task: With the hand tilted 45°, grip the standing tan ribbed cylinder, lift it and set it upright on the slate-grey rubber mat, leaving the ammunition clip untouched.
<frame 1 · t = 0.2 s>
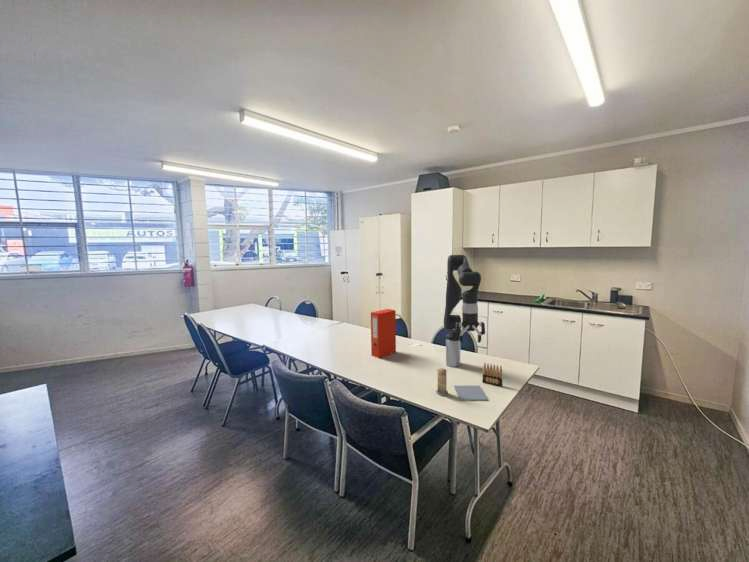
hand: (470, 342, 162), 29 cm above the table, tool pointing down, fingers open, 8 cm apart
file binder: (384, 354, 233), on the table
tan ribbed cylinder: (441, 393, 170), on the table
slate mat: (470, 393, 169), on the table
ammunition clip: (492, 384, 180), on the table
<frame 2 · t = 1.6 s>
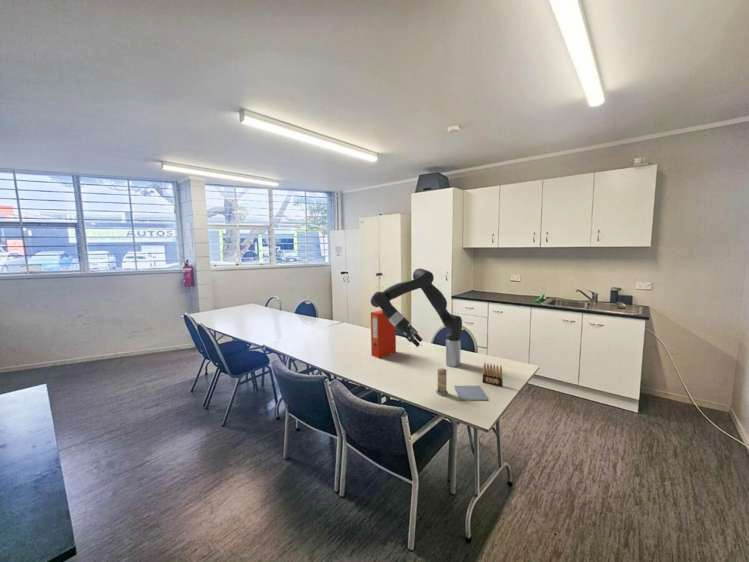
hand: (420, 343, 170), 27 cm above the table, tool tilted 45°, fingers open, 8 cm apart
nothing on the table moved.
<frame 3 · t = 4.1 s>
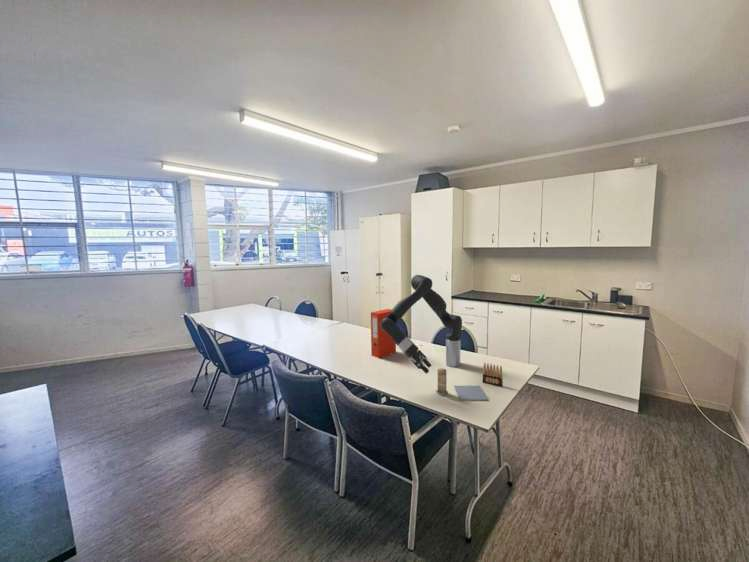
hand: (429, 369, 171), 13 cm above the table, tool tilted 45°, fingers open, 8 cm apart
nothing on the table moved.
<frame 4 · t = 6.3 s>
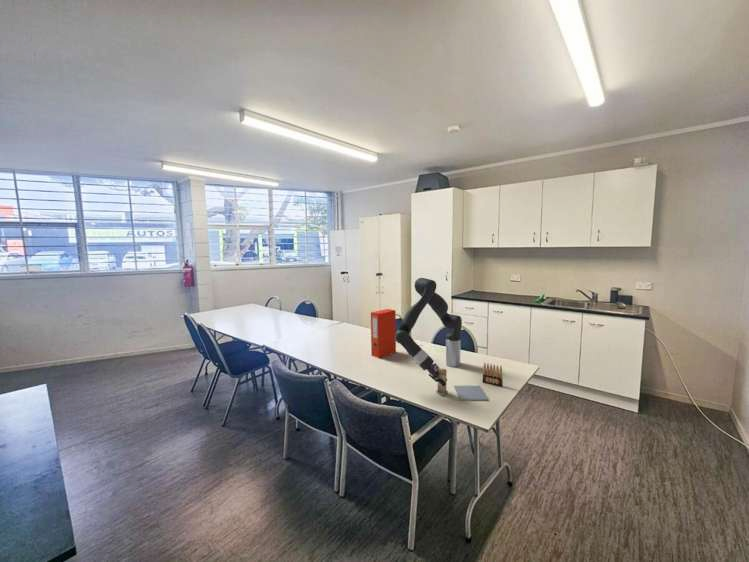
hand: (445, 383, 169), 6 cm above the table, tool tilted 45°, fingers closed on tan ribbed cylinder, 4 cm apart
tan ribbed cylinder: (441, 393, 170), on the table, touching gripper
everything else where it was.
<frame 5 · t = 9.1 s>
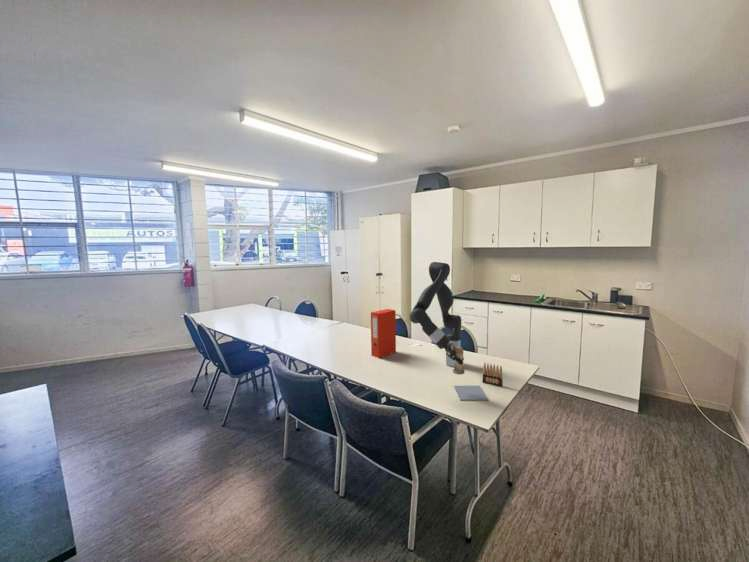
hand: (462, 361, 167), 17 cm above the table, tool tilted 45°, fingers closed on tan ribbed cylinder, 4 cm apart
tan ribbed cylinder: (458, 372, 169), point 12 cm above the table, touching gripper
everything else where it was.
when the fingers open (7 cm above the table, at t = 11.9 s): tan ribbed cylinder stays where it is, resting on slate mat.
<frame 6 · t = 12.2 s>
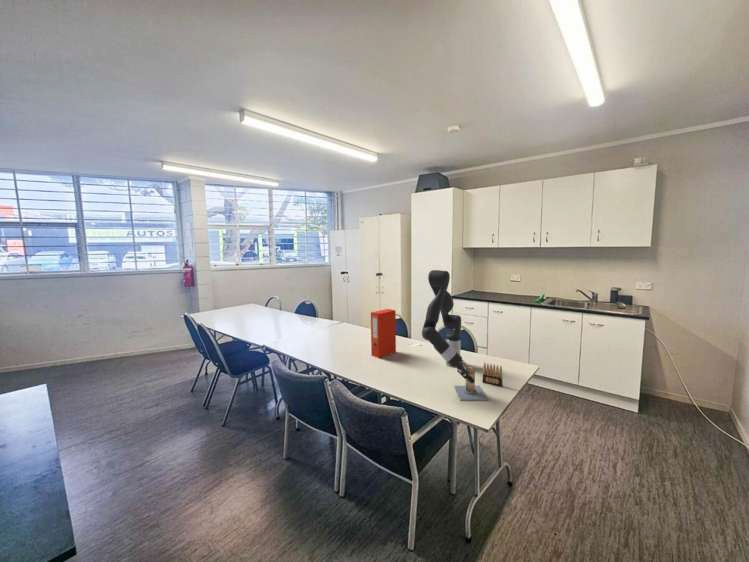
hand: (473, 379, 168), 8 cm above the table, tool tilted 45°, fingers open, 7 cm apart
tan ribbed cylinder: (470, 392, 169), point 1 cm above the table, touching slate mat
everything else where it was.
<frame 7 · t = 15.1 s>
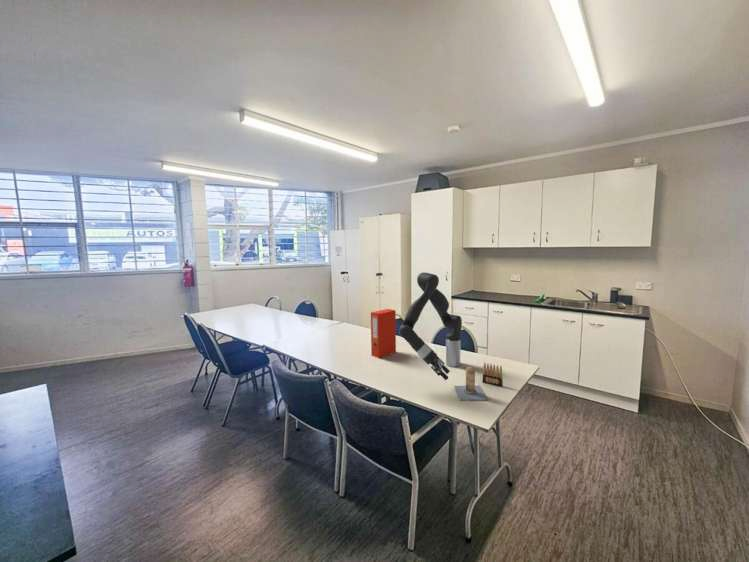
hand: (447, 375, 172), 8 cm above the table, tool tilted 45°, fingers open, 8 cm apart
nothing on the table moved.
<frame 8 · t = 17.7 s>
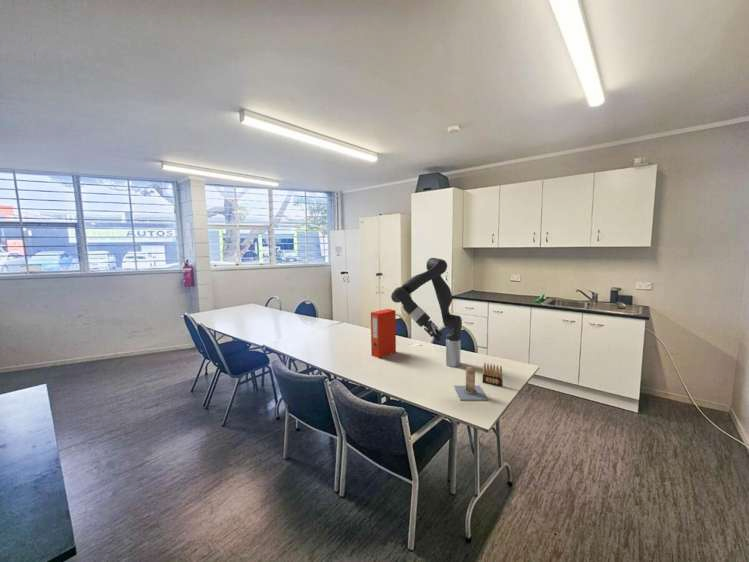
hand: (440, 338, 172), 29 cm above the table, tool tilted 45°, fingers open, 8 cm apart
nothing on the table moved.
at the end: tan ribbed cylinder inside the target area on the slate mat (0.1 cm from its centre), point 0.6 cm above the slate mat's base; tan ribbed cylinder tilted 0°; the gripper is holding nothing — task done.
